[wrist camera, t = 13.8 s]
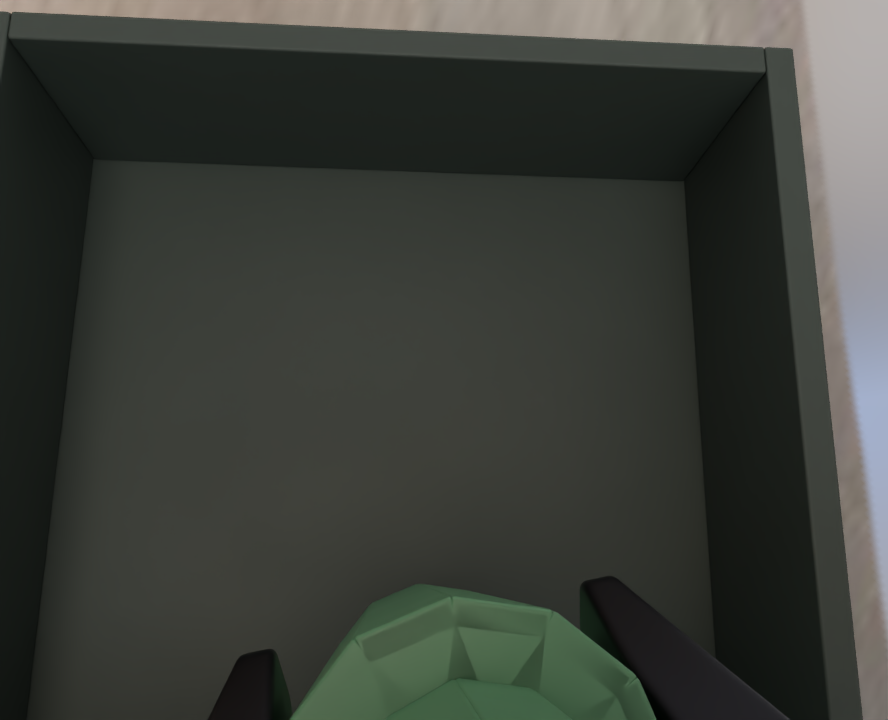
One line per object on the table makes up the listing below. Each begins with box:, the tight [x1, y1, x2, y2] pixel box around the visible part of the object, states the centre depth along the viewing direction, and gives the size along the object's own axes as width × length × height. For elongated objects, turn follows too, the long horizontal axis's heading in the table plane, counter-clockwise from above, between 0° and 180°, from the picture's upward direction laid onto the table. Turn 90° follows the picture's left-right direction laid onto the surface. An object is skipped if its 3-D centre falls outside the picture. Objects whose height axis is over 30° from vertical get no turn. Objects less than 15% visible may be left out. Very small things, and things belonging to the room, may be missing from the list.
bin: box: [0, 12, 863, 720], centre depth 17 cm, size 16×16×6 cm
